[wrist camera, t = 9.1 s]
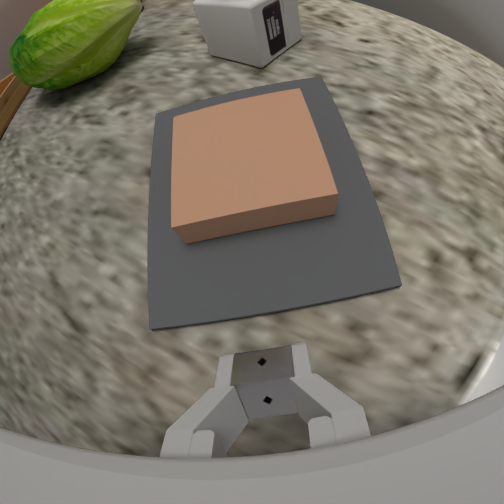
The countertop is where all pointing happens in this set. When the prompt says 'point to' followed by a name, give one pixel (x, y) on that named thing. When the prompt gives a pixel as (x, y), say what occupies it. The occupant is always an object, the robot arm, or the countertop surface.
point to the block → (248, 167)
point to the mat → (268, 237)
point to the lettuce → (72, 41)
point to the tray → (10, 99)
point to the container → (248, 28)
